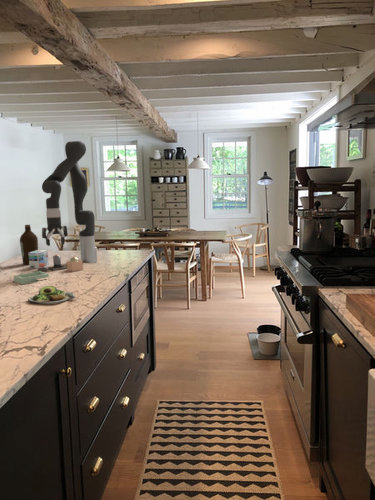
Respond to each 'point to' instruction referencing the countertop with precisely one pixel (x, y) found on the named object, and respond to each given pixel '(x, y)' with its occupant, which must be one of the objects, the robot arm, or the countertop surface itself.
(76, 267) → the tan square box
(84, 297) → the countertop surface
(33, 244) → the olive oil
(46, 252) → the light bulb box
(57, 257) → the grey cell
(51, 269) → the bulb tester base
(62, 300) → the salad plate
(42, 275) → the green trough
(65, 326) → the countertop surface
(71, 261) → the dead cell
